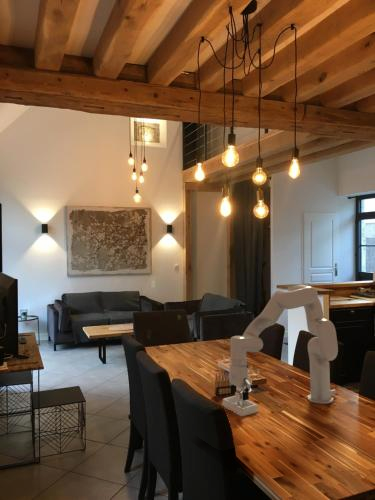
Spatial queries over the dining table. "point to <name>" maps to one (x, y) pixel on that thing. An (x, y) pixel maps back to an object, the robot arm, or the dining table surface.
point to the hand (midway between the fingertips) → (239, 396)
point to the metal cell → (239, 398)
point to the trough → (231, 405)
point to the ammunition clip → (222, 386)
